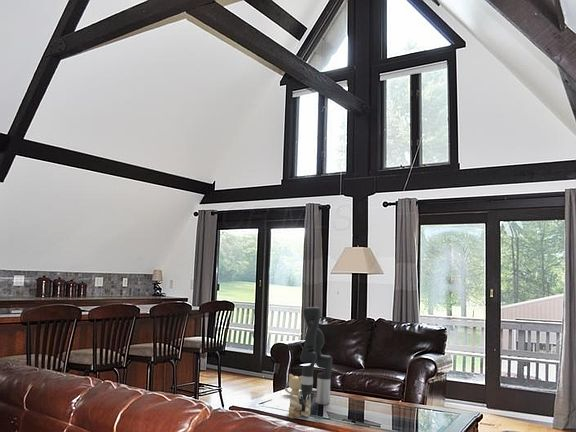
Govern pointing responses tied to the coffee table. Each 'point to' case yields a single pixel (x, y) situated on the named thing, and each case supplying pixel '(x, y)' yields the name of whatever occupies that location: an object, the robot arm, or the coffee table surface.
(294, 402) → the birch slotted plate
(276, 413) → the coffee table surface
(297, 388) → the kitten
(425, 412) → the coffee table surface
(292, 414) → the oak slotted rail
